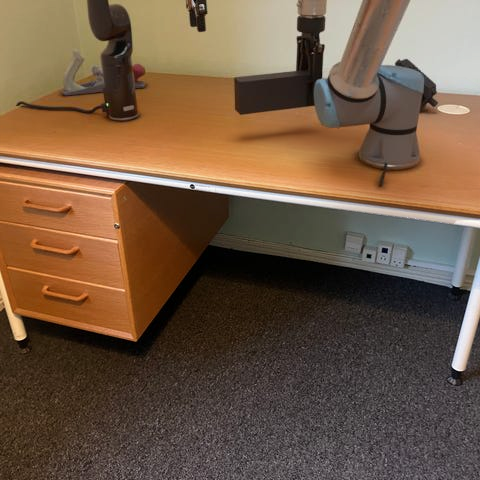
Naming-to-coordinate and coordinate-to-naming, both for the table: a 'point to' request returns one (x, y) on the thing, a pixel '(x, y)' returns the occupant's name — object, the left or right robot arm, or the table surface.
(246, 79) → the bar
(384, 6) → the right robot arm
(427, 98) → the tool
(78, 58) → the hand plane
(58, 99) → the table surface
